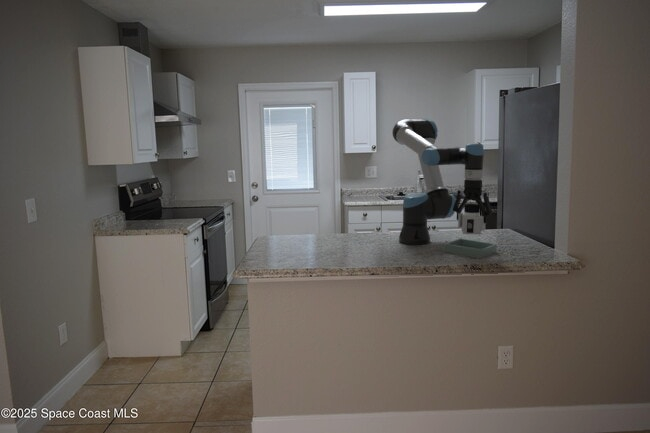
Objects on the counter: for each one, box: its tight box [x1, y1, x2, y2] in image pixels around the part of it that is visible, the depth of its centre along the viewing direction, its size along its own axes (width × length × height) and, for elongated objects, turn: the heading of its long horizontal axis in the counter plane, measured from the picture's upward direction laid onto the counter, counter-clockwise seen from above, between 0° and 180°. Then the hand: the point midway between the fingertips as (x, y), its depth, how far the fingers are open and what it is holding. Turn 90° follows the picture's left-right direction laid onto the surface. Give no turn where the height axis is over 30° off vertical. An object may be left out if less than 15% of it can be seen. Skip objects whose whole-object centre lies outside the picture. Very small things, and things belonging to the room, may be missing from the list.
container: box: [461, 203, 482, 235], centre depth 222 cm, size 8×8×13 cm
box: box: [443, 238, 498, 259], centre depth 224 cm, size 18×15×4 cm
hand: (471, 228), depth 223 cm, fingers closed on container, 10 cm apart
